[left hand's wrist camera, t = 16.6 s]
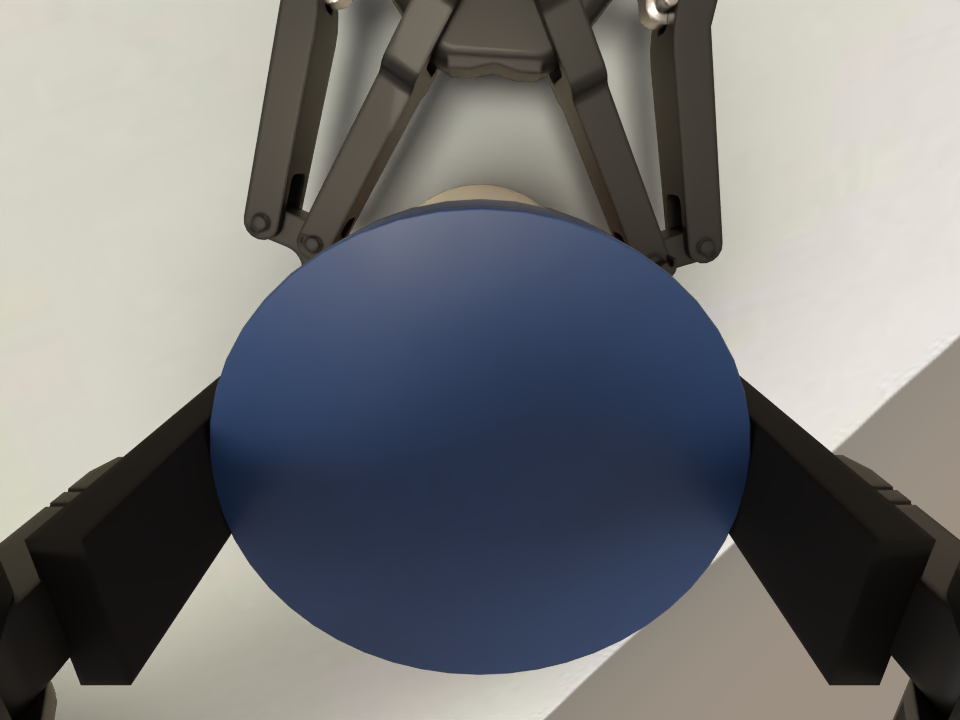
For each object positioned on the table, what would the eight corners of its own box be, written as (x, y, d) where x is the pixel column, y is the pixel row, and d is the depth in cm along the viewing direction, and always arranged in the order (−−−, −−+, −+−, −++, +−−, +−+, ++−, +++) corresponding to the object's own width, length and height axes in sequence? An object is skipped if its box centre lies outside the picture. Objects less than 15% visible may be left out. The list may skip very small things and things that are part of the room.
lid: (207, 533, 13) (161, 595, 11) (327, 107, 10) (291, 95, 8) (580, 650, 15) (595, 723, 13) (802, 317, 11) (868, 349, 9)
